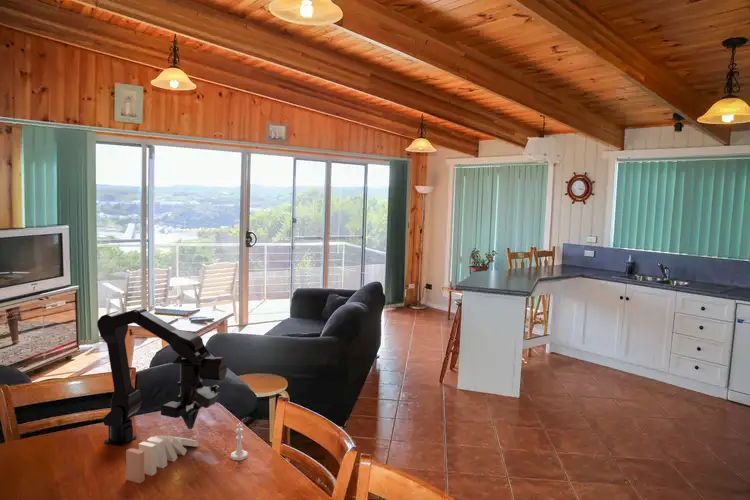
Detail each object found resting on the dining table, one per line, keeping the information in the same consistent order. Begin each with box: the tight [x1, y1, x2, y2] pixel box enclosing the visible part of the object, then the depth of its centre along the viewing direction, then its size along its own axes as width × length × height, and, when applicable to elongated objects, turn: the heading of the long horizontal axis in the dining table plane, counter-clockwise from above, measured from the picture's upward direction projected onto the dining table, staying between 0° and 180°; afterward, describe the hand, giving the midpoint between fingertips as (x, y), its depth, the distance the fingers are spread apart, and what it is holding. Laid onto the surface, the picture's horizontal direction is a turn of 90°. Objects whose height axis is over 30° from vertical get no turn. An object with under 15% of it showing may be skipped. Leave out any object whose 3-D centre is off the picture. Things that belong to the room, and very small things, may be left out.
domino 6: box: [169, 435, 200, 448], centre depth 155 cm, size 4×2×8 cm
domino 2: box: [138, 441, 157, 477], centre depth 141 cm, size 4×2×8 cm, turn 69°
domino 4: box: [154, 434, 178, 462], centre depth 147 cm, size 4×2×8 cm, turn 69°
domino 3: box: [146, 436, 169, 469], centre depth 145 cm, size 4×2×8 cm, turn 69°
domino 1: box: [125, 447, 146, 484], centre depth 137 cm, size 4×2×8 cm, turn 69°
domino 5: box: [160, 434, 188, 456], centre depth 150 cm, size 4×2×8 cm
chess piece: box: [230, 422, 249, 461], centre depth 152 cm, size 5×5×10 cm
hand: (190, 428), depth 157 cm, fingers closed
